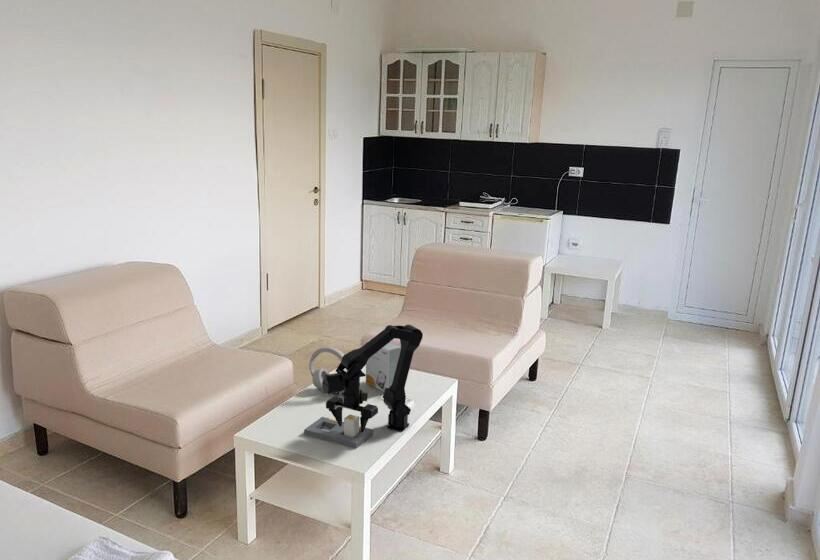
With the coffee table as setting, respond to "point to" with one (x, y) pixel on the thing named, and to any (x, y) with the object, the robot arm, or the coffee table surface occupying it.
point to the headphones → (320, 373)
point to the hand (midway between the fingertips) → (351, 428)
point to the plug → (351, 426)
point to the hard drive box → (382, 366)
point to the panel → (336, 433)
